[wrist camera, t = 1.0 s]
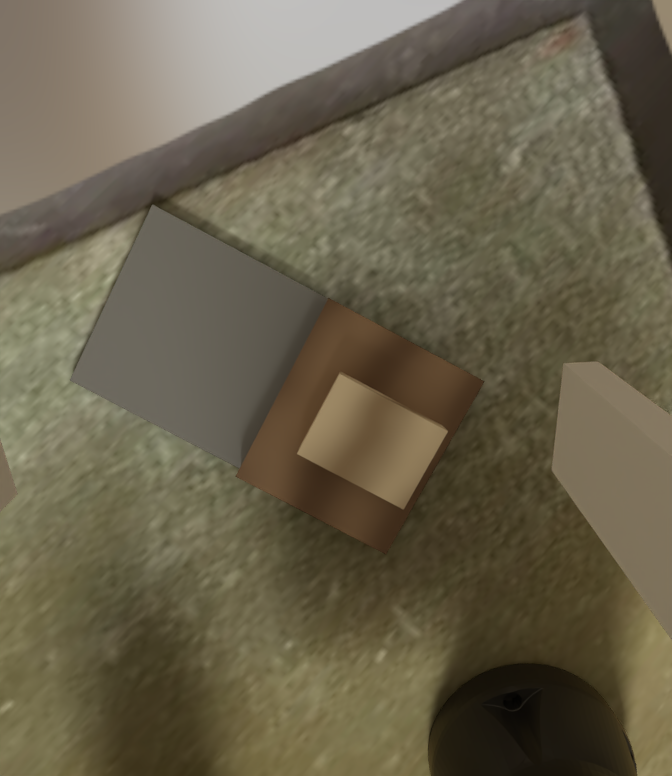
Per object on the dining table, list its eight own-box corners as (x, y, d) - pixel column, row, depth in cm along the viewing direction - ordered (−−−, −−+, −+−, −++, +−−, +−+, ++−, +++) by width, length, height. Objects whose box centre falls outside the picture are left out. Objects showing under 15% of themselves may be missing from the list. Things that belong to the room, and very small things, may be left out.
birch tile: (442, 425, 37) (448, 431, 35) (400, 499, 38) (403, 509, 36) (340, 371, 37) (339, 373, 35) (299, 447, 38) (297, 453, 36)
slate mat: (329, 299, 39) (329, 299, 38) (242, 466, 41) (240, 469, 40) (155, 206, 38) (152, 204, 38) (73, 379, 40) (69, 380, 39)
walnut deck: (475, 377, 39) (484, 381, 37) (383, 540, 41) (385, 554, 38) (329, 299, 39) (328, 297, 36) (242, 466, 41) (235, 476, 38)
